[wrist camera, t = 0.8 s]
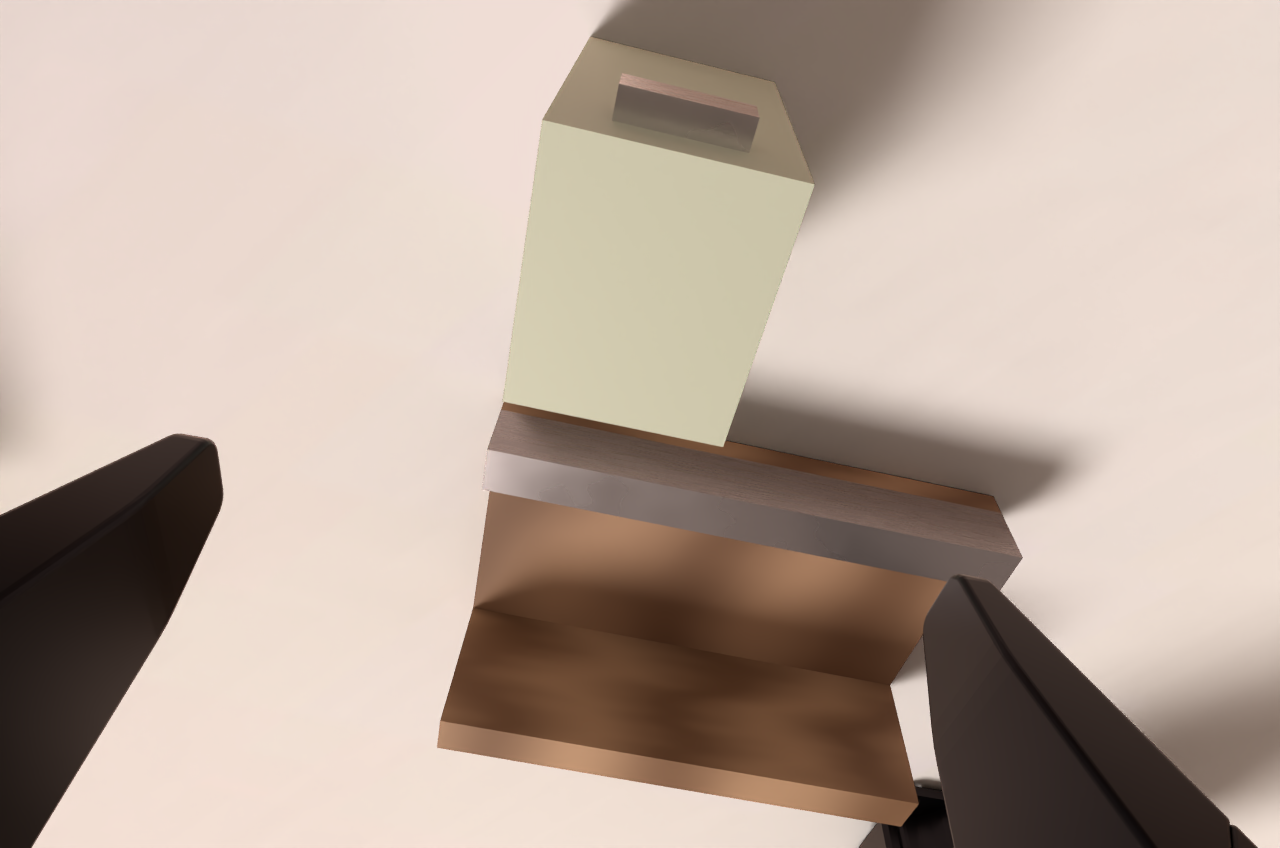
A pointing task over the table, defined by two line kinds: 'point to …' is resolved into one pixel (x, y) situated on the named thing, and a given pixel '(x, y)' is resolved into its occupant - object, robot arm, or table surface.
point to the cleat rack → (705, 613)
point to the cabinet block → (654, 242)
